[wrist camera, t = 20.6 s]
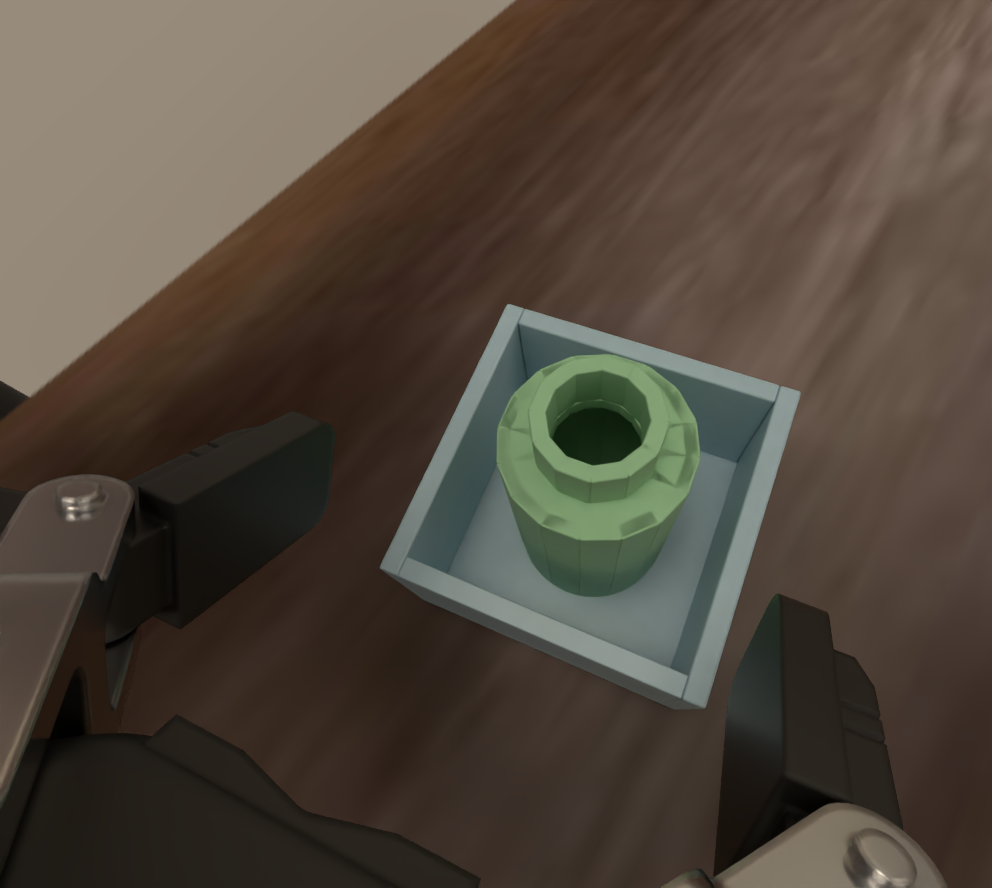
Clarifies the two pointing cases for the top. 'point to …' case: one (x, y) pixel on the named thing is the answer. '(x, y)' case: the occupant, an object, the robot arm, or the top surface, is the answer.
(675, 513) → the bottle
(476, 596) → the case
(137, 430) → the top surface
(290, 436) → the robot arm
